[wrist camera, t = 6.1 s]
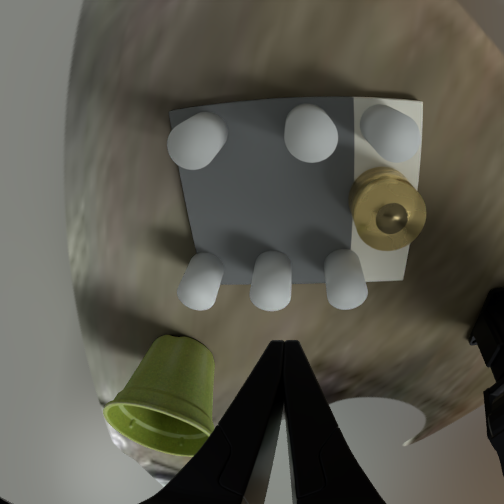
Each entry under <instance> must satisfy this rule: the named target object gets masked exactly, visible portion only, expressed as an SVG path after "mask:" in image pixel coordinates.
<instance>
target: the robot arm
mask: <svg viewBox="0 0 504 504" xmlns="http://www.w3.org/2000/svg"><path fill="white" fill-rule="evenodd" d="M468 341H469V343H470V345H478V347H479V349H480V352H481V354H482V357H483V359H484V361H485V364H486V366H487V367H488V368H489V367H490V368H491V370H492V373H493V375H494V378H495V380H496V383H495V384H494V385H493V386H491V387H490V388H487V389H486V390H485V391H484V392H483V394H484V404H485V414H486V426H487V436H488V439H489V440H490V442H491V444H492V446H493V447H494V449H495V450H496V451H497V454H498V456H499V459H500V463H501V467H502V472H503V476H504V288H497V289H493V290H491V291H490V292H489V294H488V297H487V299H486V302H485V304H484V307H483V309H482V311H481V314H480V316H479V318H478V321H477V323H476V325H475V327H474V329H473V332H472V334H471V336H470V338H469V340H468ZM283 408H285V420H286V431H287V442H288V453H289V465H290V476H291V488H292V500H293V504H386V503H385V501H384V500H383V499H382V498H381V496H380V495H379V493H378V492H377V491H376V489H375V488H374V486H373V485H372V483H371V482H370V480H369V479H368V477H367V476H366V474H365V473H364V471H363V470H362V468H361V467H360V466H359V464H358V462H357V460H356V459H355V457H354V455H353V454H352V452H351V450H350V449H349V446H348V445H347V443H346V441H345V439H344V437H343V434H342V432H341V430H340V428H338V424H337V422H336V420H335V417H334V415H333V413H332V411H331V409H330V407H329V405H328V402H327V400H326V398H325V396H324V394H323V392H322V389H321V387H320V385H319V383H318V381H317V379H316V377H315V374H314V372H313V370H312V368H311V366H310V364H309V362H308V359H307V357H306V355H305V353H304V351H303V349H302V347H301V344H300V342H299V341H298V340H286V341H285V342H284V341H283V340H272V341H271V342H270V343H269V344H268V346H267V348H266V349H265V351H264V353H263V354H262V356H261V358H260V359H259V361H258V362H257V364H256V366H255V367H254V369H253V370H252V372H251V374H250V375H249V377H248V378H247V380H246V381H245V383H244V385H243V386H242V388H241V389H240V391H239V392H238V394H237V396H236V397H235V399H234V400H233V402H232V403H231V405H230V406H229V408H228V409H227V411H226V412H225V414H224V415H223V417H222V418H221V420H220V421H219V423H218V425H219V426H218V425H217V426H216V427H215V429H214V430H213V432H212V433H211V435H210V436H209V437H208V439H207V440H206V441H205V443H204V444H203V445H202V447H201V448H200V449H199V450H198V451H197V453H196V454H195V455H194V456H193V457H192V458H191V460H190V461H189V462H188V463H187V464H186V465H185V466H184V467H183V468H182V469H181V470H180V471H179V472H178V473H177V474H176V475H175V476H174V477H173V478H172V480H171V481H170V482H169V483H168V484H167V485H166V486H165V487H164V488H163V489H161V490H160V491H159V492H158V493H156V494H155V495H154V496H152V497H151V498H149V499H147V500H145V501H143V502H141V503H139V504H264V501H265V497H266V492H267V488H268V484H269V479H270V474H271V470H272V465H273V460H274V455H275V450H276V445H277V440H278V435H279V430H280V425H281V419H282V414H283ZM0 504H12V503H10V502H9V501H7V500H5V499H3V498H1V497H0Z"/></svg>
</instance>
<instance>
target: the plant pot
mask: <svg viewBox="0 0 504 504" xmlns="http://www.w3.org/2000/svg"><path fill="white" fill-rule="evenodd" d="M214 367H215V364H214V359H213V355H212V353H211V352H210V351H209V350H208V349H207V348H206V347H205V346H204V345H203V344H201V343H199V342H198V341H196V340H194V339H191V338H189V337H173V336H170V335H164V336H161V337H159V338H157V339H156V340H155V341H154V342H153V344H152V345H151V347H150V349H149V350H148V352H147V353H146V355H145V356H144V358H143V360H142V361H141V363H140V364H139V366H138V368H137V369H136V371H135V372H134V374H133V375H132V377H131V379H130V380H129V382H128V383H127V385H126V386H125V388H124V389H123V390H122V391H121V392H119V393H118V394H117V396H116V397H115V399H114V400H113V401H110V402H108V403H107V404H106V405H105V407H104V409H103V414H104V417H105V419H106V420H107V422H108V423H109V424H110V425H111V426H112V427H113V428H114V429H115V430H117V431H118V432H119V433H121V434H122V435H124V436H125V437H127V438H129V439H130V440H132V441H134V442H136V443H138V444H141V445H143V446H145V447H148V448H150V449H154V450H156V451H159V452H163V453H167V454H172V455H177V456H189V457H193V456H194V455H195V454H196V453H197V451H198V450H199V449H200V448H201V447H202V445H203V444H204V443H205V441H206V440H207V439H208V437H209V436H210V435H211V433H212V432H213V430H214V425H213V422H212V403H213V382H214Z"/></svg>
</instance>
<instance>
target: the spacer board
mask: <svg viewBox="0 0 504 504" xmlns="http://www.w3.org/2000/svg"><path fill="white" fill-rule="evenodd" d="M169 117H170V123H171V128H172V131H171V132H170V134H169V137H168V140H167V149H168V153H169V155H170V157H171V158H172V160H173V161H174V162H175V163H176V164H177V165H178V167H179V172H180V177H181V182H182V187H183V192H184V197H185V202H186V207H187V211H188V216H189V221H190V226H191V230H192V235H193V239H194V244H195V248H196V253H197V254H195V255H194V256H193V257H192V258H191V260H190V262H189V265H188V267H187V269H186V271H185V273H184V276H183V278H182V280H181V282H180V284H179V287H178V289H177V295H178V298H179V299H180V301H181V302H182V303H183V304H184V305H185V306H187V307H189V308H191V309H194V310H206V309H209V308H211V307H212V306H213V304H214V303H215V300H216V296H217V293H218V290H219V286H220V284H251V289H250V299H251V301H252V303H253V304H254V305H255V306H257V307H258V308H260V309H262V310H266V311H277V310H280V309H283V308H284V307H286V306H287V305H288V304H289V302H290V299H291V284H305V283H326V289H327V298H328V301H329V303H330V304H331V305H332V306H333V307H335V308H338V309H342V310H348V309H353V308H355V307H358V306H359V305H361V304H362V303H363V302H364V301H365V299H366V297H367V294H368V290H367V286H366V282H374V281H399V280H403V277H404V272H405V267H406V262H407V257H408V251H409V246H410V244H409V245H407V246H405V247H403V248H401V249H398V250H393V251H381V250H377V249H374V248H371V247H370V246H368V245H367V244H366V243H364V242H363V241H362V239H361V238H360V236H359V235H358V233H357V230H356V227H355V224H354V221H353V217H352V214H351V211H350V208H349V204H348V196H349V191H350V189H351V186H352V184H353V183H354V181H355V180H356V179H357V178H358V177H359V176H360V175H361V174H362V173H364V172H365V171H367V170H369V169H372V168H375V167H390V168H393V169H396V170H397V171H399V172H401V173H402V174H403V175H404V176H405V177H406V178H407V179H408V181H409V182H410V183H411V184H412V185H413V187H414V188H415V189H416V190H417V189H418V180H419V169H420V157H421V142H422V120H423V102H421V101H418V100H407V99H393V98H376V97H290V98H272V99H258V100H246V101H236V102H226V103H218V104H210V105H202V106H195V107H189V108H182V109H176V110H171V111H169Z"/></svg>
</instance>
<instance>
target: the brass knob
mask: <svg viewBox="0 0 504 504" xmlns="http://www.w3.org/2000/svg"><path fill="white" fill-rule="evenodd" d="M348 204H349V208H350V211H351V214H352V217H353V221H354V224H355V227H356V230H357V233H358V235H359V236H360V238H361V239H362V241H363V242H364V243H366V244H367V245H368V246H370V247H371V248H374V249H377V250H381V251H393V250H398V249H401V248H403V247H405V246H407V245H409V244H410V243H411V242H413V241H414V240H415V239H416V238H417V237H418V235H419V234H420V232H421V231H422V229H423V227H424V224H425V220H426V206H425V203H424V200H423V198H422V197H421V195H420V194H419V193H418V191H417V190H416V189H415V188H414V187H413V185H412V184H411V183H410V182H409V181H408V179H407V178H406V177H405V176H404V175H403V174H402V173H401V172H399V171H397V170H396V169H393V168H390V167H375V168H372V169H369V170H367V171H365V172H364V173H362V174H361V175H360V176H359V177H358V178H357V179H356V180H355V181H354V183H353V184H352V186H351V189H350V191H349V196H348Z"/></svg>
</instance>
